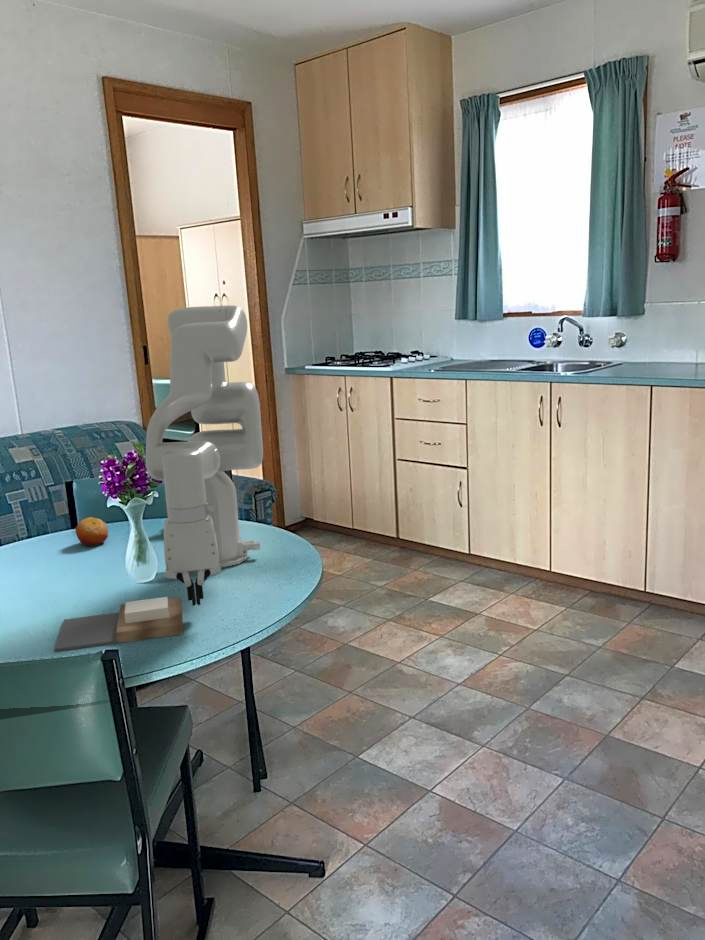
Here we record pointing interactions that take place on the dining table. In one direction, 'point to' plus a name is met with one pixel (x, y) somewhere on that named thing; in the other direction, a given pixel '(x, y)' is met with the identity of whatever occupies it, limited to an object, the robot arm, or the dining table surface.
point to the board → (151, 624)
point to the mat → (88, 631)
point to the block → (146, 610)
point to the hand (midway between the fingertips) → (196, 602)
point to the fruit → (91, 531)
